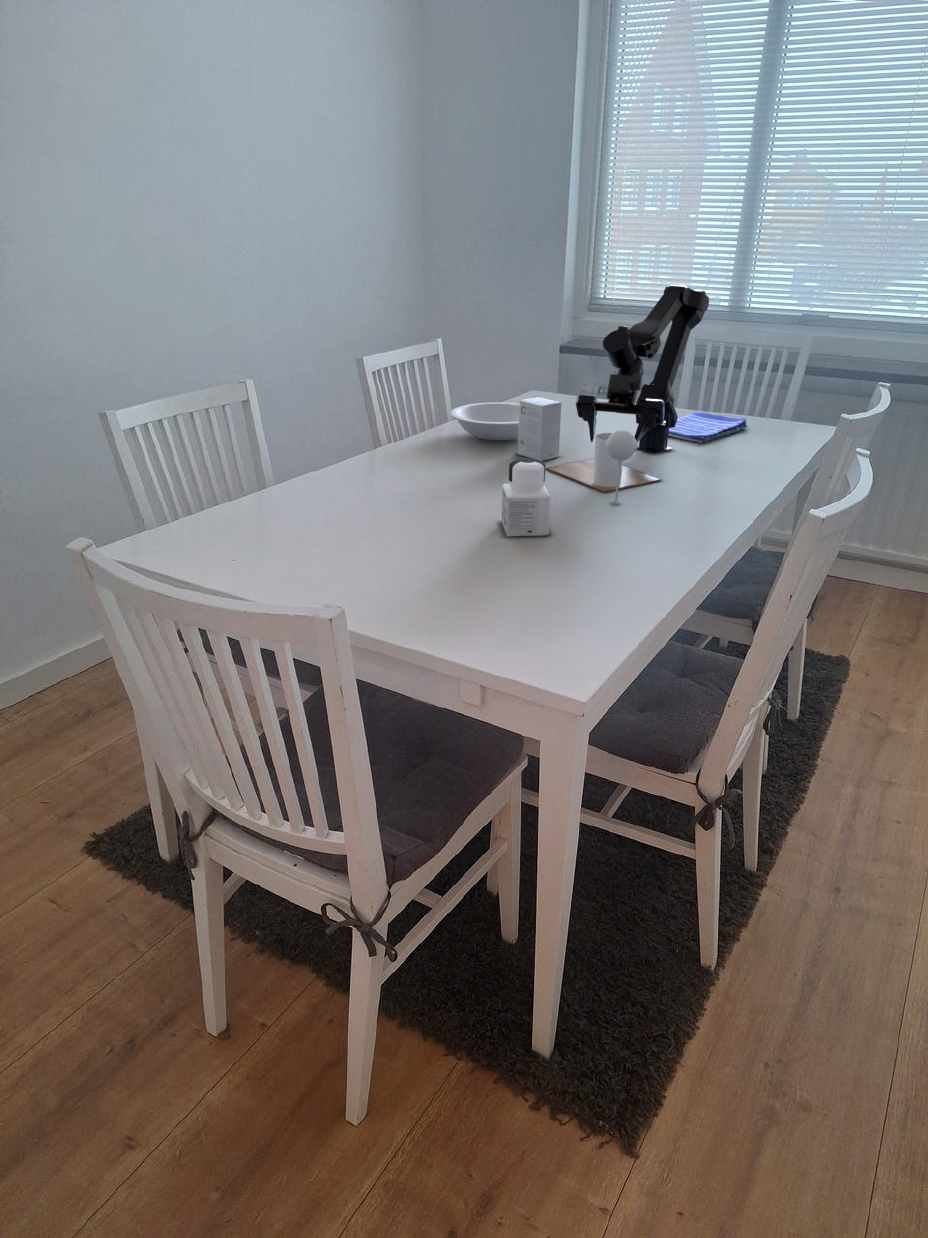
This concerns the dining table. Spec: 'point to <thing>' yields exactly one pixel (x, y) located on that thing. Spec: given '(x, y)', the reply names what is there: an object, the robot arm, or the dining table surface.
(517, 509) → the container
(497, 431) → the soup bowl
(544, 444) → the small box
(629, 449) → the lollipop
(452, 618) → the dining table surface
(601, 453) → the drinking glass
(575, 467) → the glossy brown placemat
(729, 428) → the dish towel
